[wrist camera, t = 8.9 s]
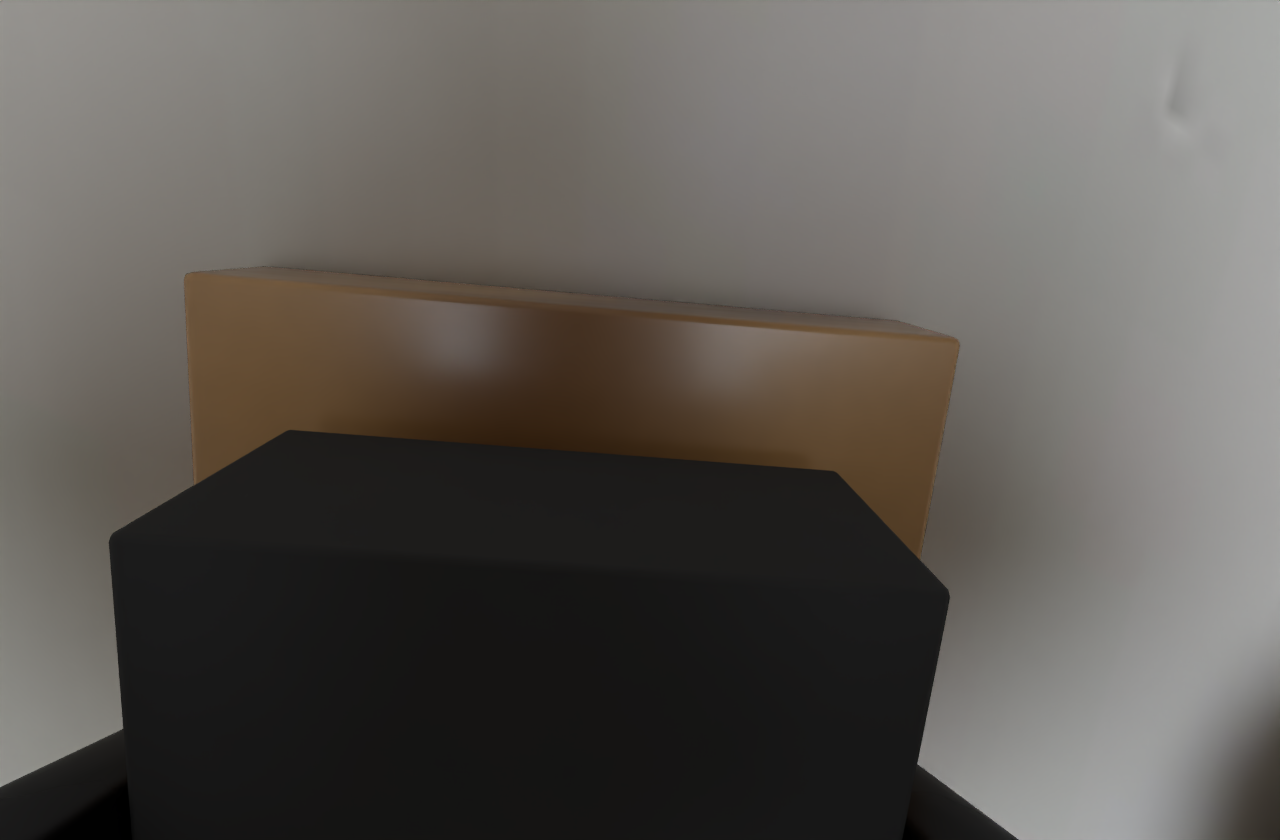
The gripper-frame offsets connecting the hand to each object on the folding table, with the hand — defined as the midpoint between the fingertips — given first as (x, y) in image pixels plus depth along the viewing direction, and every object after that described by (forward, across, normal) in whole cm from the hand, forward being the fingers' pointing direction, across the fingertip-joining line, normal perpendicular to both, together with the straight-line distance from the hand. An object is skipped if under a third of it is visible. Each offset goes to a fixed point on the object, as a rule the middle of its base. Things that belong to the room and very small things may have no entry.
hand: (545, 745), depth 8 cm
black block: (+1, 0, 0) cm, 1 cm away
